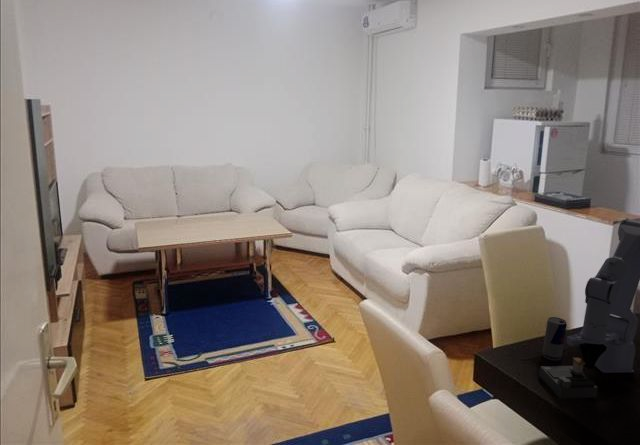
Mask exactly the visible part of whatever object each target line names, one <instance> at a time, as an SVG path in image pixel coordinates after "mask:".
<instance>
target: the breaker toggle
mask: <svg viewBox="0 0 640 445" xmlns="http://www.w3.org/2000/svg"><path fill="white" fill-rule="evenodd" d="M572 361H573V363H572V366H573V368H570V370H571V371H572V372H573V373H574V374H575V375H585V372H583V369H584V365H585V362H584V361H583V359H582V358H580V357H572Z"/></svg>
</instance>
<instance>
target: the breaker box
mask: <svg viewBox="0 0 640 445" xmlns="http://www.w3.org/2000/svg"><path fill="white" fill-rule="evenodd" d="M570 368H573V365H551V366H550V365H549V366H548V365H546V366H544V365H542V366H541V365H540V368H539V374H538V377H539V378H540V379H541V380H542V381H543V382H544V383H545V384H546V385H547V387H549V388H550V389H551V391H552V392H553V393H554V394H555V395H556V396H557V397H558V398H559V399H593V398H595V399H596V398H597V396H598V391H599V390H598V388H599V387H598V386H597V385H596V382H595V380H592V379H591V378H588V377H587V376H586V375H585V374H584V375H575V374H574V373H573V372H572V371H571V370H570Z"/></svg>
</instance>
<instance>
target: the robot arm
mask: <svg viewBox="0 0 640 445" xmlns="http://www.w3.org/2000/svg"><path fill="white" fill-rule="evenodd" d="M617 235H618V241H619V242H618V245H617V247H616V248H615V250H614V253H613V256H611V257H608V258H606V259H605V260H604V262H603V264H601V267H600V269H599V270H598V271H597V274H596V275H595V276H593V277H590V278H589V279H588V280H587V282H586V285H585V288H584V294H585V300H584V303H585V304H586V306H585V310H584V319H583V324H582V325H583V326H582V329H581V330H580V332H579V333H576V334H573V335H567V336H566V341H565V342H566V343H565V344H567V345H568V346H570V347H575V346H576V345H578V346H579V349H580V351H581V356H582V361H584V362H585V365H583V367H585V368H586V369H588V370H592V369H594V367H596V368H597V369H598V370H599V371H600V372H602V373H604V374H611V373H613V374H614V373H617V374H619V373H635V372H634V369H633V366H634V363H635V362H634V361H635V355H636V346H635V343H634V339H635V337H636V334H637V330H638V324H639V319H638V317H637V316H636V315H635V313H634V312H633V310H632V309H631V308H632V305H633V301H634V298H635V295H636V294H637V290H638V287H639V283H640V220H635V219H630V218H629V217H628V218H627V217H626V218H625V217H624V219H622V220H621V222H620V223H619V225H618V228H617Z"/></svg>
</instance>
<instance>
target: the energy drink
mask: <svg viewBox="0 0 640 445" xmlns="http://www.w3.org/2000/svg"><path fill="white" fill-rule="evenodd" d="M545 326H546V327H545V334H544V339H543V346H542V347H543V348H542V353H541V354H542V356H543V358H545V359H547V360H549V361H552V362H553V361H554V362H555V361H556V362H557V361H560V360H561V359H562V357H563V350H564V344H565V337H566V331H567V327H568V326H567V321H566V320H565V319H563V318H561V317H557V316H556V317H555V316H551V317H548V319H547V321H546V325H545Z"/></svg>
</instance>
